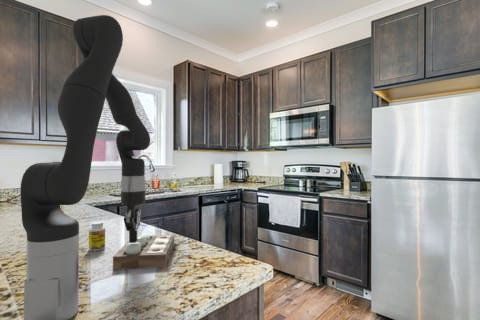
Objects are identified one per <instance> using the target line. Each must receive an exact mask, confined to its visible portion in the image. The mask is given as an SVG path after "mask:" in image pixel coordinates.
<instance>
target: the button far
mask: <svg viewBox="0 0 480 320" xmlns="http://www.w3.org/2000/svg"><path fill="white" fill-rule="evenodd" d="M141 236H145V237H146V241H150V236H151V235H148V234H143V235H141Z"/></svg>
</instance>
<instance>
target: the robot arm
mask: <svg viewBox="0 0 480 320" xmlns="http://www.w3.org/2000/svg"><path fill="white" fill-rule="evenodd" d="M72 33H73V34H72V35H73V38H74V39H75V42H76V44H77V47H78V49H79V51H80V52H81V54H82V56H83V58H84V60H83V61H82V62H81V63H80V64H79V65H78V66H77V67H76V68H75V69H74V70H73V71H72V72H71V73H70V75H69V76H68V77H67V79H66V80H65V82H64V83H63V86H62V89H61V92H60V96H59V98H58V103H57V112H58V116H59V120H60V122H61V125H62V127H63V129H64V132H65V134H66V135H65V136H66V145H65V150H64V152H63V153H64V154H63V157H62V160H61V162H37V163H33V164H32V165H29V167H27V168H26V170H25V171H24V173H23V174H22V178H21V182H20V207H21V209H20V210H21V211H20V212H21V223H22V227H23V229H24V231H25V233H26V281H24V284H23V287H24V288H23V320H70V319H71V318H73V317H75V315H77V314H78V312H79V298H80V297H79V287H80V285H79V283H80V282H79V275H80V271H79V270H80V268H79V267H80V264H79V263H80V260H79V259H80V258H79V257H80V247H79V246H80V224H79V221H78V220H77V219H76V218H73V217H71V216H69V215H68V214H66V213H65V212H64V211H63V210H62V208H61V206H72V205H76V204H78V203H80V202H81V200H82V199H83V198H84V196H86V193H87V189H88V188H89V187H88V186H89V182H90V175H91V169H92V162H93V161H92V160H93V154H94V149H95V148H94V147H95V141H96V137H97V133H98V129H99V124H100V120H101V116H102V114H103V109H104V107H105V106H104V105H105V102H106V101H107V105H108V108H109V110H110V113H111V115H112V118H113V121H114V123H115V124H116V125H119V126H123V127H125V128H127V129H121V130H120V131H119V132H118V133H117V135H116V139H115V142H116V143H115V144H116V148H117V151H118V155H119V159H120V162H121V179H120V180H121V181H120V204H121V205H122V206H126V210H125V217H123V223H124V225H125V229H126V231H127V232H128V236H129V237H128V241H129V242H130V243H135V242H136V241H137V236H138V231H139V227H140V226H141V218H142V213H143V212H142V209H141V207H140V206H141V205H143V204H145V203H146V176H145V175H146V173H145V167H146V164H145V161H144V158H141V157H137V156H136V155H135V152H134V151H145V150H147V149H148V148H149V146H150V144H151V136H150V133H149V131H148V129H147V128H146V126H145V125H144V124H143V122H142V120H141V119H140V117H139V116H138V114H137V110H136V108H135V103H134V102H133V98H132V96H131V94H130V92H129V90H128V89H127V88H126V87H125V85H124V84H123V83H122V82H121V81H120V80H119V79H118V78H117V76H116V75H114V73H113V71H114V69H115V65H116V63H117V60H118V58H119V55H120V53H121V51H122V46H123V42H124V41H123V40H124V36H123V35H124V34H123V29H122V26H121V25H120V23H119V22H118V20H117V19H116V18H115V17H113V16H111V15H109V14H108V15H107V14H103V15H101V14H100V15H93V16H89V17H88V16H87V17H82V18H78V19H76V20H75V21H74V22H73V25H72Z"/></svg>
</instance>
